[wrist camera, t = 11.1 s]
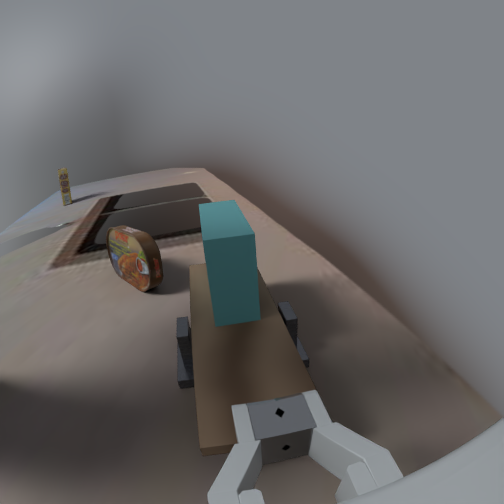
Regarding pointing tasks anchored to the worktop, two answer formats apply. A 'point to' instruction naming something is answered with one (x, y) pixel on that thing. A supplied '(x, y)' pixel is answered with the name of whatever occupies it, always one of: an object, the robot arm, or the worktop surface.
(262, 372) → the beam
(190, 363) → the beam stand
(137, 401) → the worktop surface
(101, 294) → the worktop surface
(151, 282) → the tin
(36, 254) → the worktop surface
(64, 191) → the candy box
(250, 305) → the block
